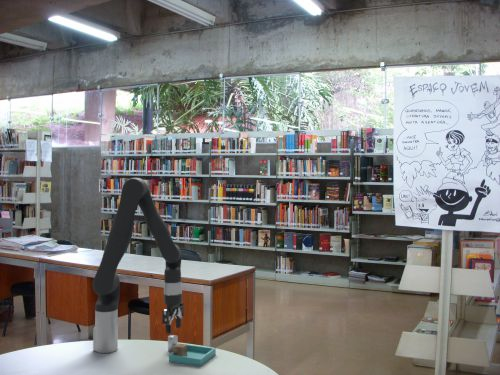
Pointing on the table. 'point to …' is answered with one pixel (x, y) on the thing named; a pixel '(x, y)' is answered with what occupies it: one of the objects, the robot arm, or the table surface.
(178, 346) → the walnut block
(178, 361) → the parts tray
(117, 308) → the robot arm
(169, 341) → the metal cylinder
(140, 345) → the table surface
